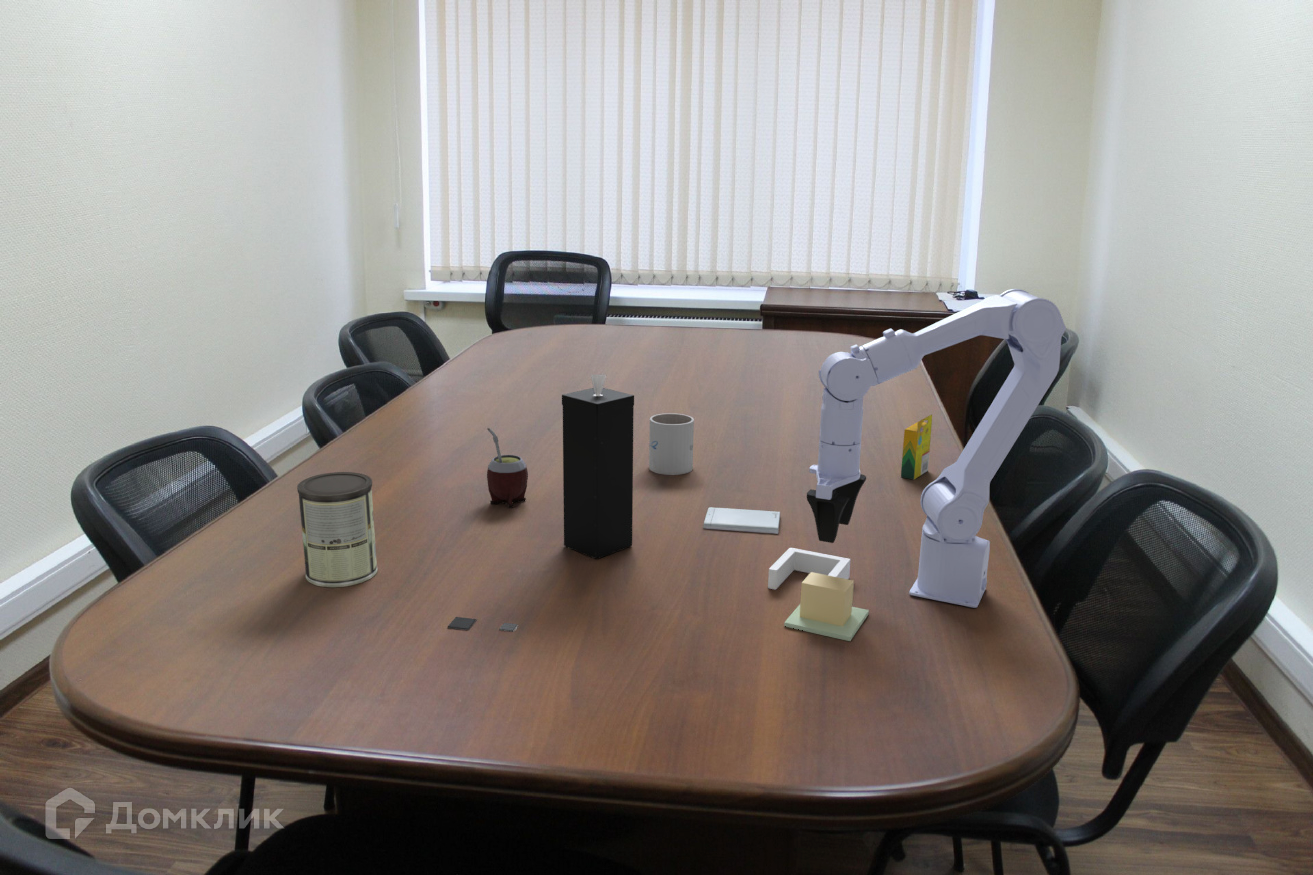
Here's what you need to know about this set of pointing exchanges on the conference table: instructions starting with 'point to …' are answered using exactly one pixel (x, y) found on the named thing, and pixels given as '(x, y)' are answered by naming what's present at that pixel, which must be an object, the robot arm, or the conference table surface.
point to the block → (826, 598)
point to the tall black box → (598, 469)
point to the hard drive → (742, 520)
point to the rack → (807, 565)
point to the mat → (826, 628)
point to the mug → (671, 443)
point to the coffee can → (338, 529)
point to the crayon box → (916, 449)
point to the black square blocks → (468, 622)
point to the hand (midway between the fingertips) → (834, 532)
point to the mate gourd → (506, 477)
